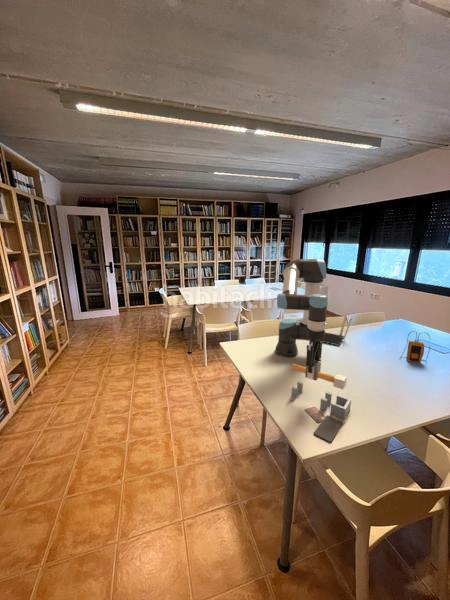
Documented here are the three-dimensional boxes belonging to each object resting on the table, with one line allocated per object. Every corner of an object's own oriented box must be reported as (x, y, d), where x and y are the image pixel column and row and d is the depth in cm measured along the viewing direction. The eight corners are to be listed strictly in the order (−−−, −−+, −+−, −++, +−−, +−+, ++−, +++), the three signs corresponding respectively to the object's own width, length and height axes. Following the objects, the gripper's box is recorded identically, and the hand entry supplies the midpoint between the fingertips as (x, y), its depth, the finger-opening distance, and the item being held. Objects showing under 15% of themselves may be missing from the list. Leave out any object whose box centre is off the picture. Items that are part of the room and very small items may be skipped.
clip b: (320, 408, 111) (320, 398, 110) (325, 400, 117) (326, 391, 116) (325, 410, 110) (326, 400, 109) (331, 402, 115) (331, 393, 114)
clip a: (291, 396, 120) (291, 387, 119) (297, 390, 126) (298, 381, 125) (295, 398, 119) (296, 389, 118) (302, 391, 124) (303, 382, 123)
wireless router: (300, 338, 196) (302, 314, 192) (309, 330, 215) (310, 308, 210) (346, 348, 177) (349, 321, 173) (351, 338, 196) (354, 314, 192)
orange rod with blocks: (290, 371, 120) (291, 358, 118) (294, 368, 124) (295, 355, 122) (342, 389, 104) (344, 374, 103) (346, 384, 108) (347, 370, 107)
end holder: (330, 413, 108) (331, 403, 107) (336, 404, 115) (337, 394, 113) (344, 419, 104) (345, 409, 103) (350, 409, 111) (351, 399, 110)
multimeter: (423, 357, 161) (428, 328, 157) (428, 364, 152) (433, 333, 148) (396, 354, 167) (400, 325, 163) (399, 360, 158) (404, 330, 154)
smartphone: (343, 421, 102) (331, 442, 91) (343, 423, 103) (330, 444, 92) (326, 414, 107) (312, 433, 96) (326, 416, 107) (312, 435, 96)
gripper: (317, 336, 101) (313, 387, 106) (331, 325, 115) (327, 371, 120) (299, 332, 106) (296, 381, 111) (315, 322, 119) (312, 366, 124)
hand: (312, 376), depth 115 cm, fingers closed on orange rod with blocks, 5 cm apart
